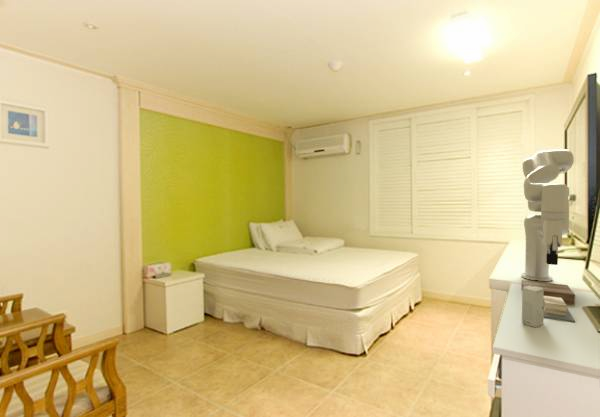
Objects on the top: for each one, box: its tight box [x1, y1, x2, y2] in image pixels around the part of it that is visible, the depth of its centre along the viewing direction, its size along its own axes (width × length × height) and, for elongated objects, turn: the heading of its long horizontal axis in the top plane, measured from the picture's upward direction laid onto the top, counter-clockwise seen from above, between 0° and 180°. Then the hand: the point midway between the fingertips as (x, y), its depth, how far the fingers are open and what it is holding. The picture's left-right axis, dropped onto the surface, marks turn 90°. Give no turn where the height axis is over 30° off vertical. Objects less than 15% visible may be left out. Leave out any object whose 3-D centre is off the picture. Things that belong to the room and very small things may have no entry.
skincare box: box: [521, 286, 545, 328], centre depth 108 cm, size 6×4×12 cm
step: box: [520, 279, 576, 306], centre depth 135 cm, size 14×16×4 cm
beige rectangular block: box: [544, 296, 568, 315], centre depth 119 cm, size 9×6×4 cm, turn 150°
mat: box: [543, 308, 576, 323], centre depth 120 cm, size 20×12×1 cm, turn 150°
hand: (551, 263), depth 124 cm, fingers closed
